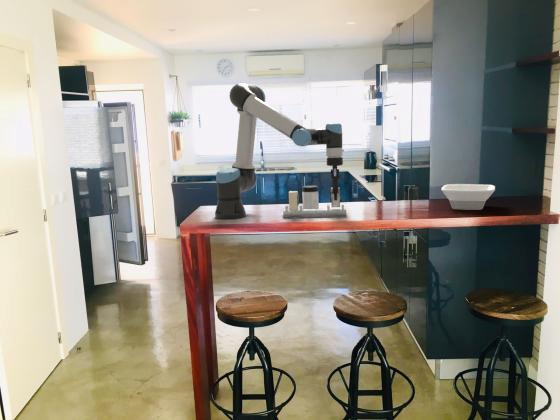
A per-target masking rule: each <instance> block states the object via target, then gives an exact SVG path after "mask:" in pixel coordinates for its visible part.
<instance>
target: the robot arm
mask: <svg viewBox="0 0 560 420" xmlns="http://www.w3.org/2000/svg"><path fill="white" fill-rule="evenodd" d="M229 100H230V102H231V104H232V105H233V106H234V107H236V108H237V110H236V112H237V113H238V114H239V119H238V120H239V121H238V132H237V141H236V142H237V143H236V153H235V155H236V156H235V162H234V163H232V164H231V165H232V166H231V167H230V168H225V169H224V168H222V169H219V170H218V171H217V172H216V174H215V175H216V176H215V177H216V178H215V182H216V195H217V204H216V206H215V207H216V208H215V212H214V217H215V219H219V220H220V219H221V220H231V219H232V220H234V219H235V220H236V219H240V218H244V217H246V210H245V207H244V204H243V201H242V193H245V192H249V191H250V190H253V189H254V187H255V186H256V185H257V182H258V176H257V175H258V174H256V171H255V170H256V169H255V165H254V164H253V162H254V161H253V160H254V150H255V137H256V129H257V120H258V119H259V120H261V121H263V122H264V123H265V124H267V125H268V126H270V127H271V128H273V129H275V130H276V131H278V132H280V133H281V134H282V135H284V136H286V137H287V138H289V139H290V140H292V141H293V143H294V145H295V146H298V147H307V146H317V145H318V146H319V145H320V146H321V145H324V146H325V151H326V166H329V167H332V169H330V173H331V180H332V187H333V192H331V194H333V207H332V208H340V207H339V198H338V187H339V179H340V175H339V174H340V169H339V168H338V166H343V164H344V161H343V159H344V157H343V152H344V148H343V127H342V124H341V123H338V122H337V123H327V124H325V128H306V127H304V126H303V125H300V124H299V123H298V122H297V121H295V120H293V119H291V118H289V117H288V116H287V115H285V114H283V113H282V112H280V111H279V110H277V109H276V108H274V107H272V106H271V105H269V104H267V103H266V95H265V92H264V91H263V88H261V87H260V86H258V85H256V84H249V83H244V82H242V83H241V82H240V83H237V84H235V85H234V86H232V88H231V89H230V91H229Z"/></svg>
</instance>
